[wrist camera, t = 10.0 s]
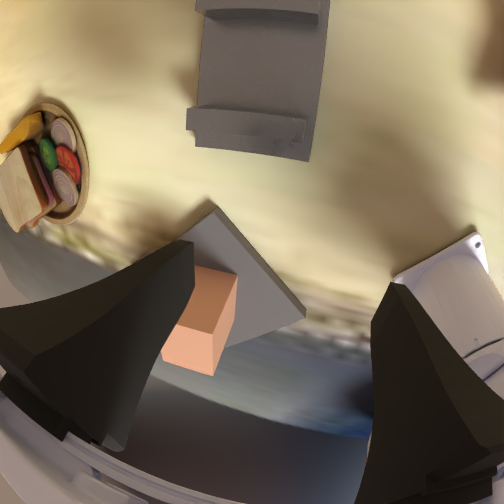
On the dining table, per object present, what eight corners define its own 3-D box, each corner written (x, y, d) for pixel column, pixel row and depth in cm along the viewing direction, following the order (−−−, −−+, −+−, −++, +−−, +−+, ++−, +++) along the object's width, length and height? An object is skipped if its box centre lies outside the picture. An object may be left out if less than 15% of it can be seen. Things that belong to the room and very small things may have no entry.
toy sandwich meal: (114, 210, 22) (80, 237, 18) (41, 227, 26) (15, 248, 22) (75, 77, 16) (32, 85, 12) (9, 132, 20) (-22, 146, 16)
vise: (216, -24, 10) (194, -43, 8) (331, -19, 10) (333, -42, 7) (201, 143, 17) (177, 156, 14) (309, 158, 16) (307, 173, 13)
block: (188, 263, 22) (152, 316, 17) (237, 275, 21) (212, 334, 16) (191, 308, 24) (163, 360, 19) (234, 319, 24) (212, 375, 19)
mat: (306, 309, 23) (305, 317, 22) (215, 344, 28) (212, 351, 27) (218, 206, 19) (213, 212, 19) (138, 270, 25) (132, 276, 24)
